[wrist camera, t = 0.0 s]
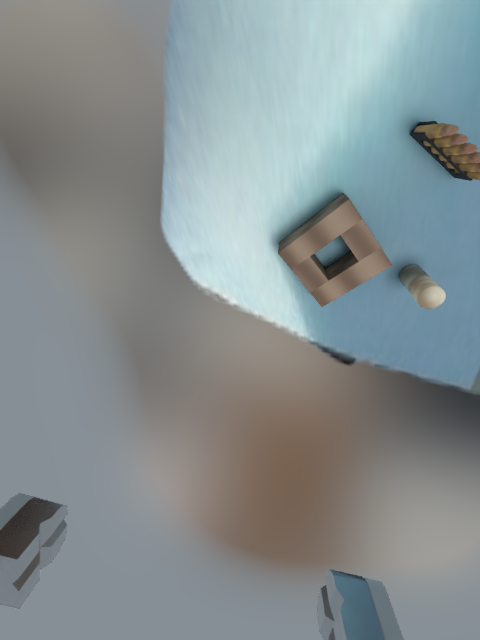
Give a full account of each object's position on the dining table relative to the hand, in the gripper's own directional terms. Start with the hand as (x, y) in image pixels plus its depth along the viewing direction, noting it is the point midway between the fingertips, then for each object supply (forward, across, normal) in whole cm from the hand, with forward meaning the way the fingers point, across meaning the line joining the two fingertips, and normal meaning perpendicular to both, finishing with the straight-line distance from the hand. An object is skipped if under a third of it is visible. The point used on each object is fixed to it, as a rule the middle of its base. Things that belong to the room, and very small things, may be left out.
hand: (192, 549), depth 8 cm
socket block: (+51, -12, -12) cm, 54 cm away
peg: (+52, -29, -9) cm, 60 cm away
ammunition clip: (+46, -23, -29) cm, 59 cm away
